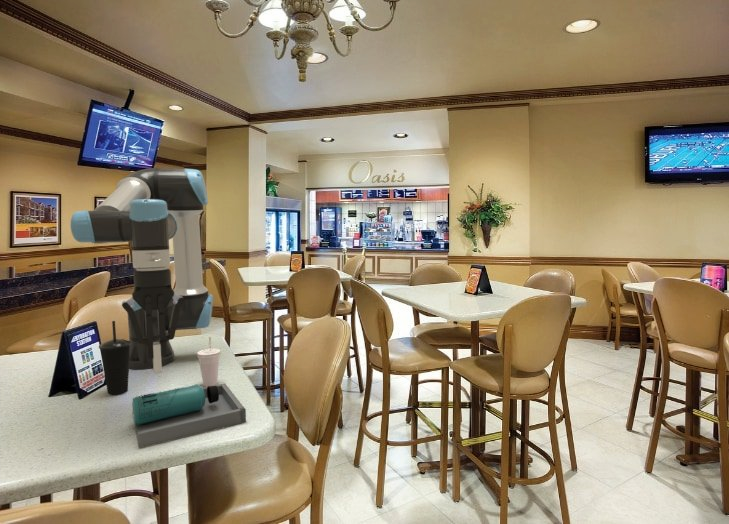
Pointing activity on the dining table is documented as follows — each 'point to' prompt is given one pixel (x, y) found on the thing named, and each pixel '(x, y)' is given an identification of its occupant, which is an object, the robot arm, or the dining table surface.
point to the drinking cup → (116, 363)
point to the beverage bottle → (171, 403)
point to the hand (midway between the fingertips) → (157, 371)
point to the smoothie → (209, 365)
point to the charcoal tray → (195, 420)
